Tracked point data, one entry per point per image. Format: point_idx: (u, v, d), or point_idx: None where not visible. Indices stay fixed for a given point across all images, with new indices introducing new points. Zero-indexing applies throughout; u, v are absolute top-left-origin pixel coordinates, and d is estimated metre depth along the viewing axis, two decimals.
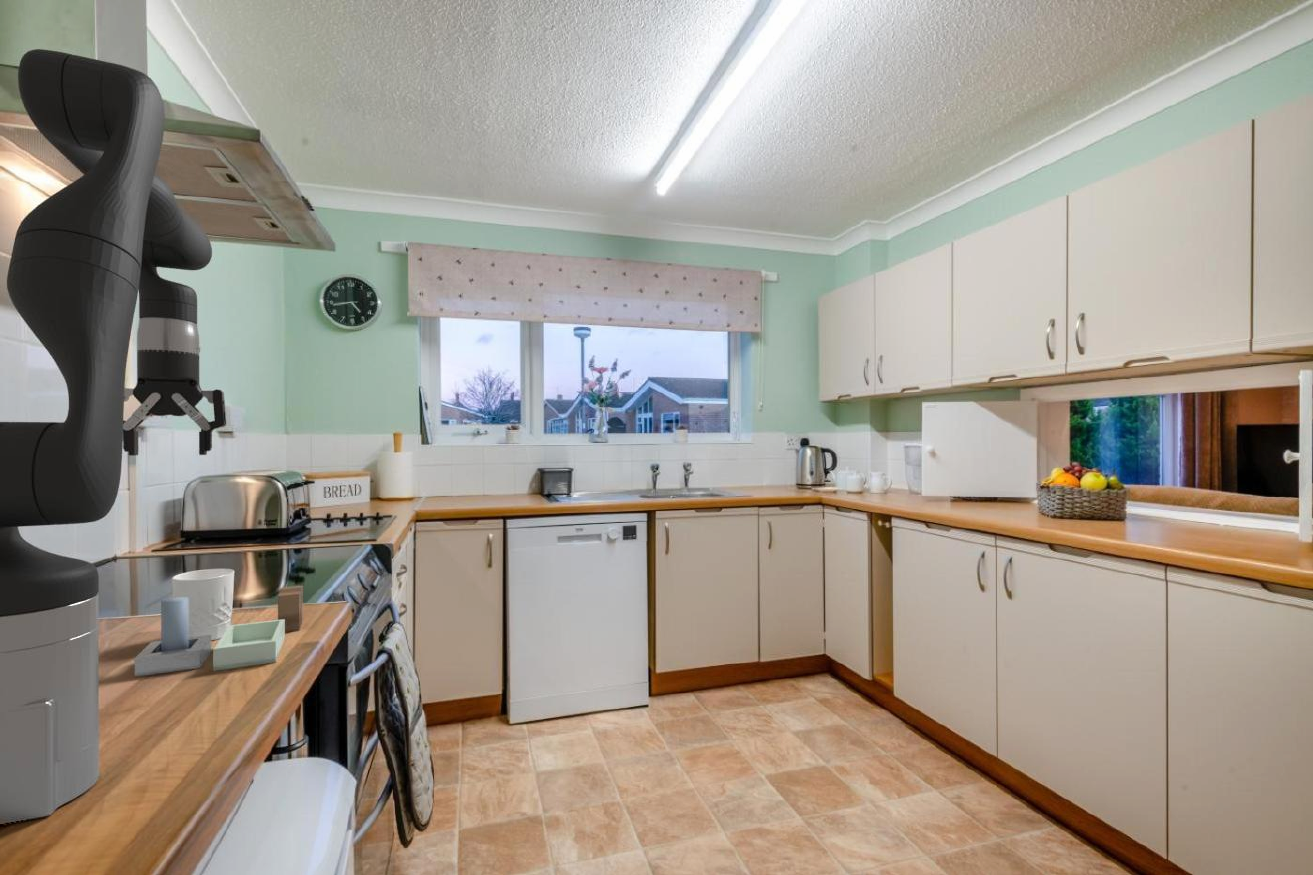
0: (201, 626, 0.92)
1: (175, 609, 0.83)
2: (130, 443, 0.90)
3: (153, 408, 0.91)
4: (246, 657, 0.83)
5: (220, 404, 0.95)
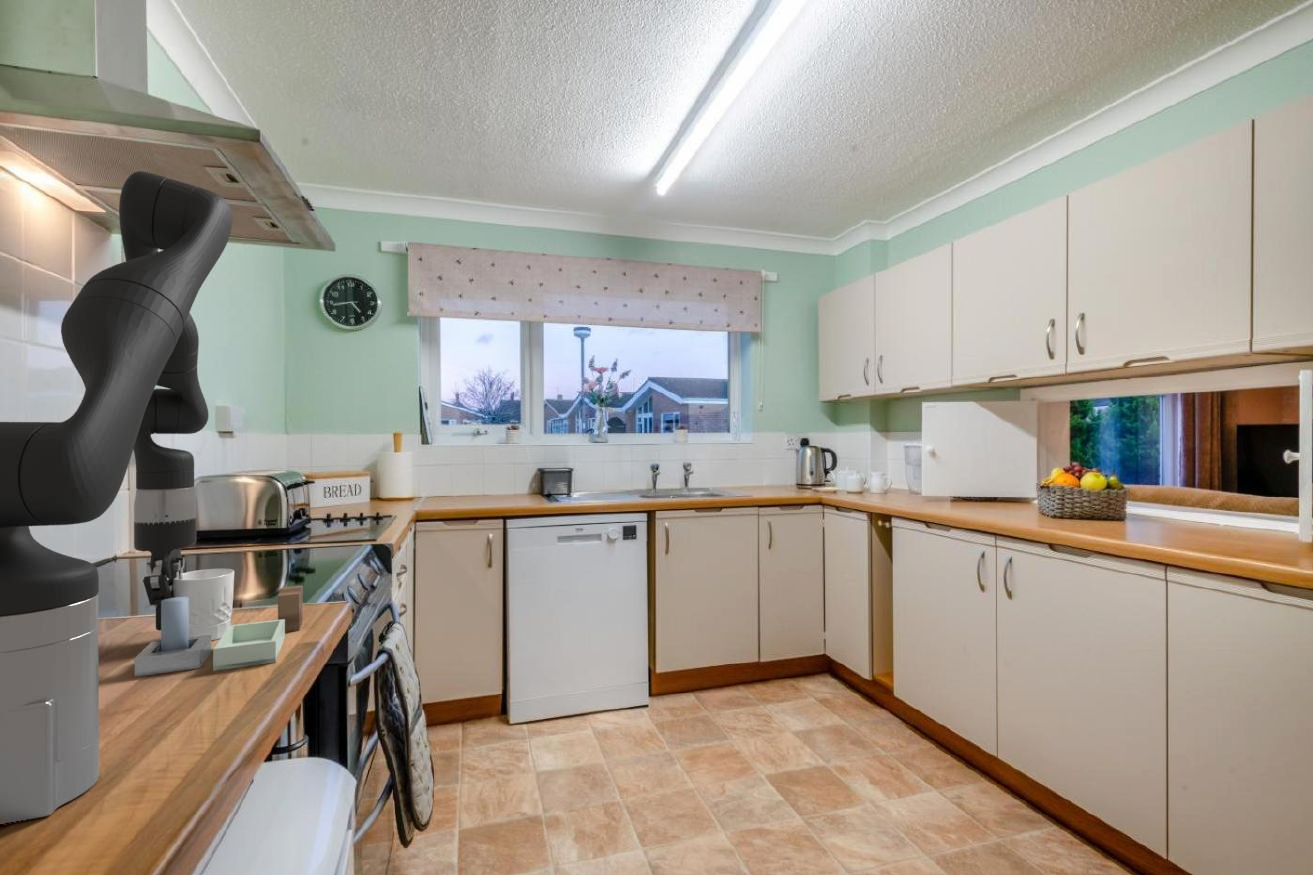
0: (201, 626, 0.92)
1: (175, 609, 0.83)
2: None
3: None
4: (246, 657, 0.83)
5: None
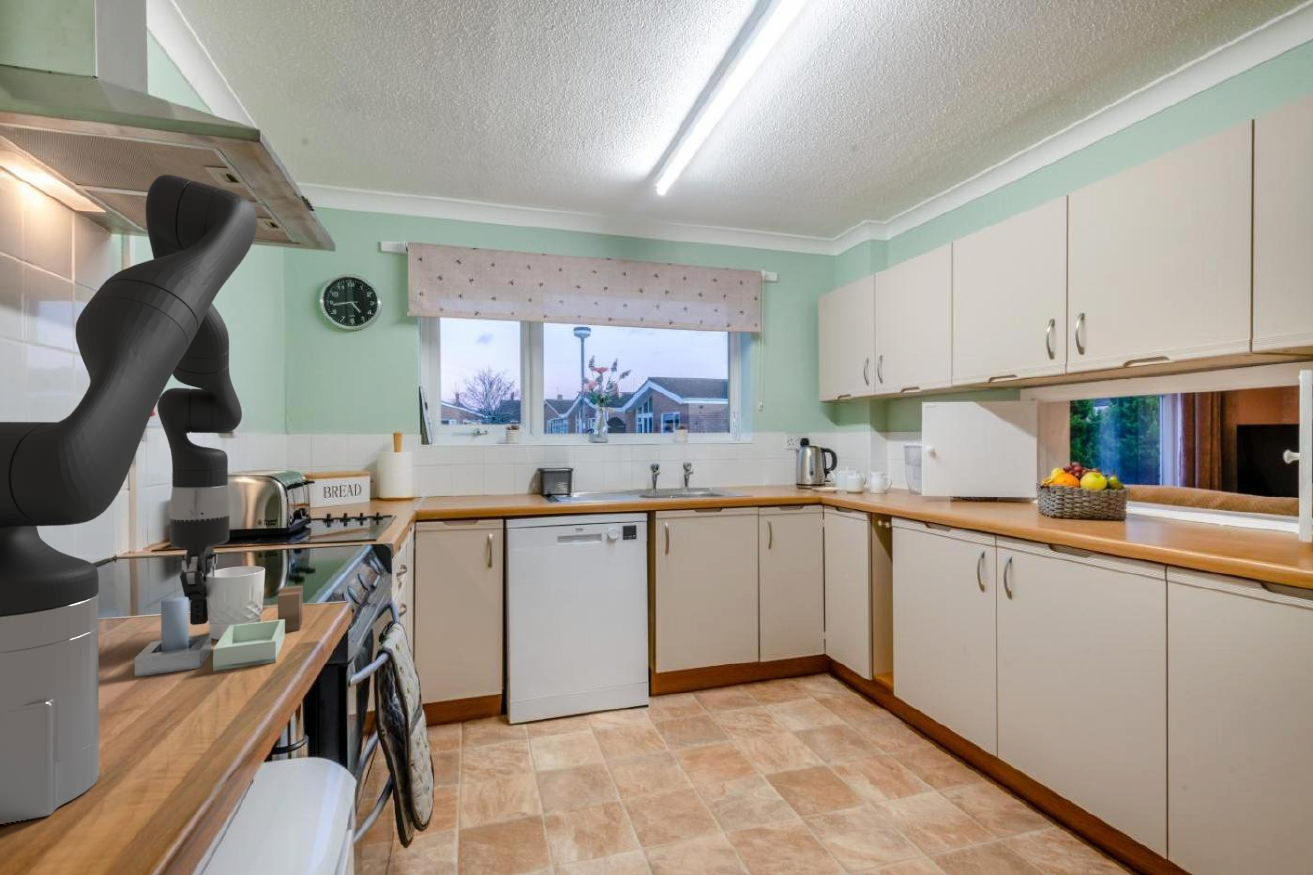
0: (228, 623, 0.94)
1: (175, 609, 0.83)
2: None
3: None
4: (246, 657, 0.83)
5: None
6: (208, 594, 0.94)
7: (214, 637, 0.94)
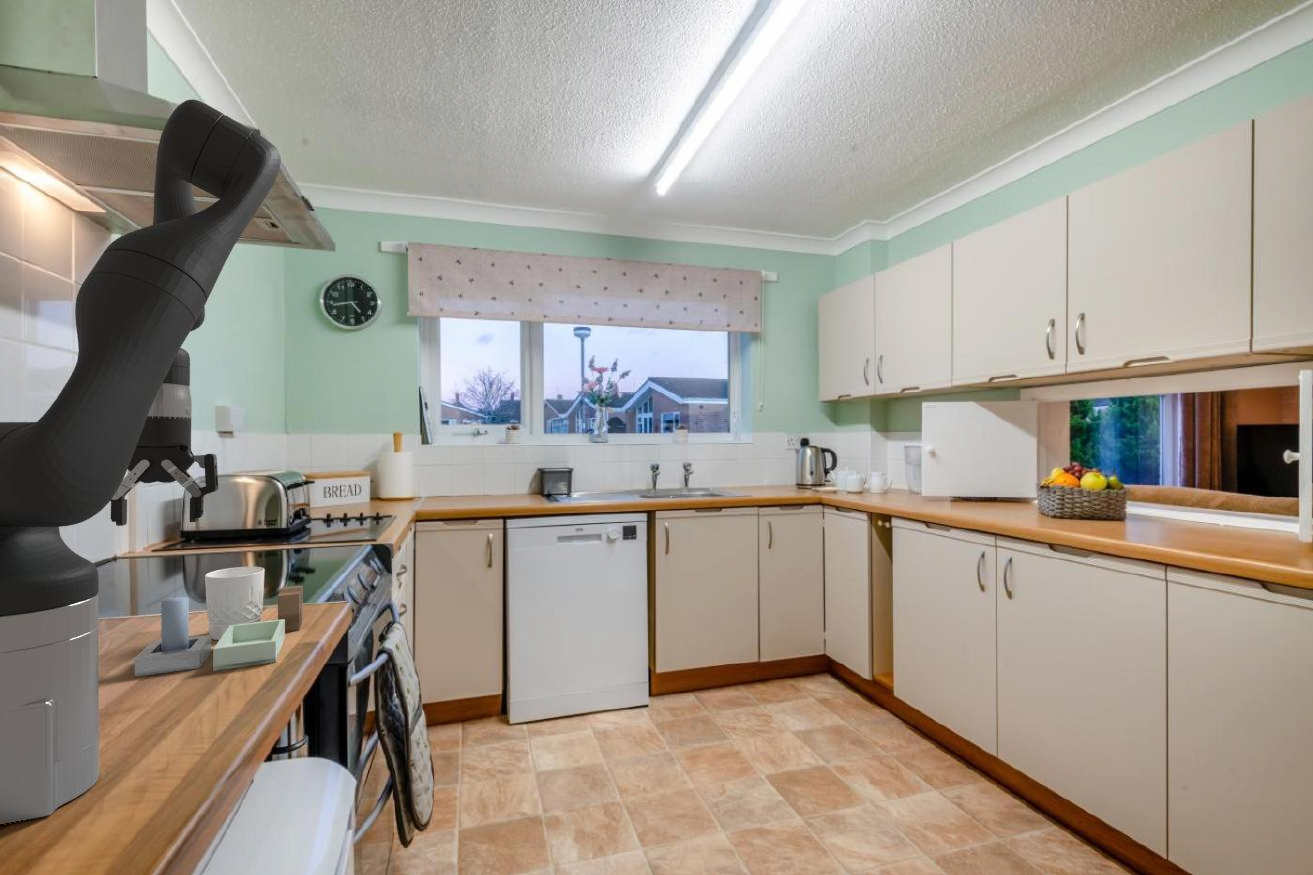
0: (228, 623, 0.94)
1: (175, 609, 0.83)
2: None
3: None
4: (246, 657, 0.83)
5: None
6: (208, 595, 0.94)
7: (214, 637, 0.94)
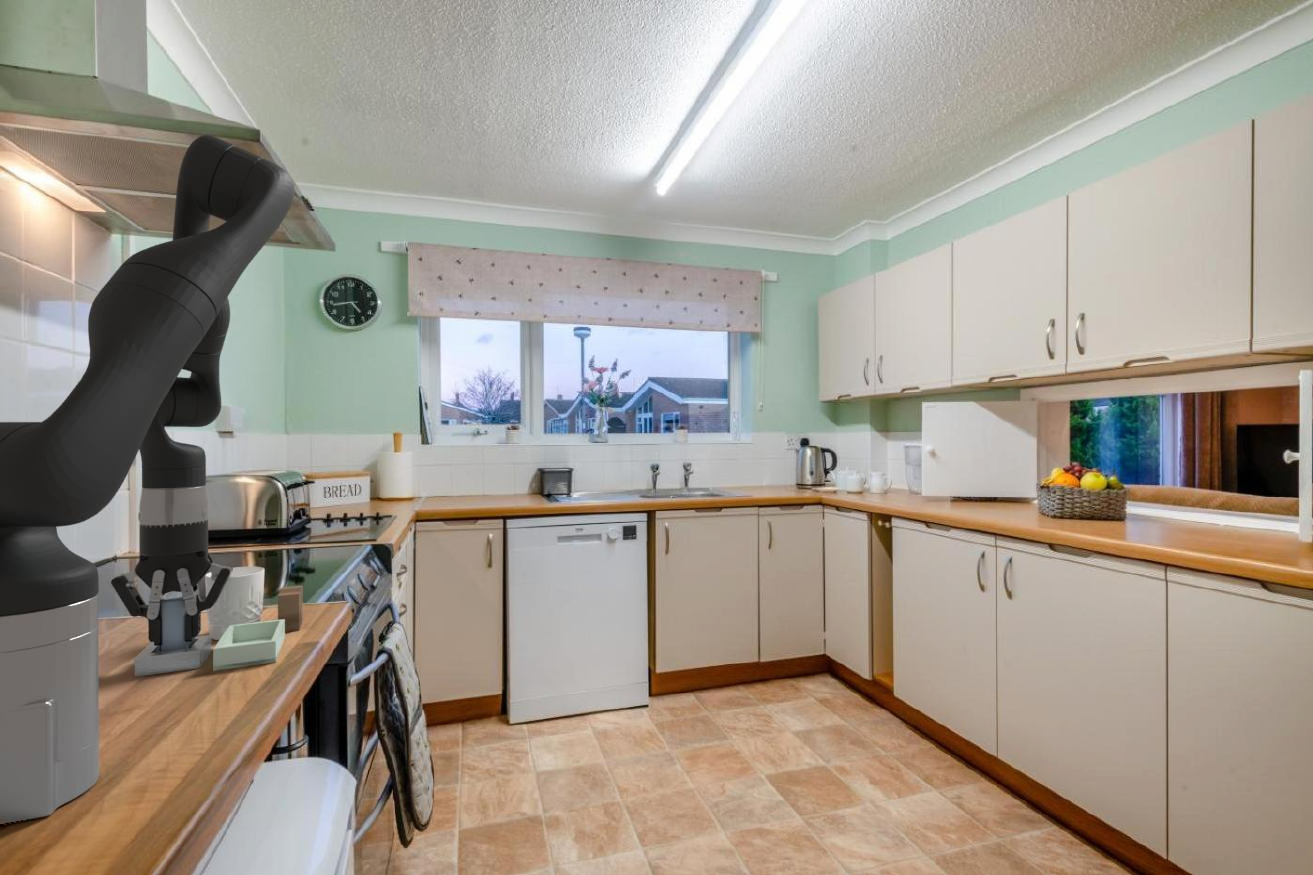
0: (228, 623, 0.94)
1: (175, 609, 0.83)
2: None
3: None
4: (246, 657, 0.83)
5: None
6: None
7: (214, 637, 0.94)
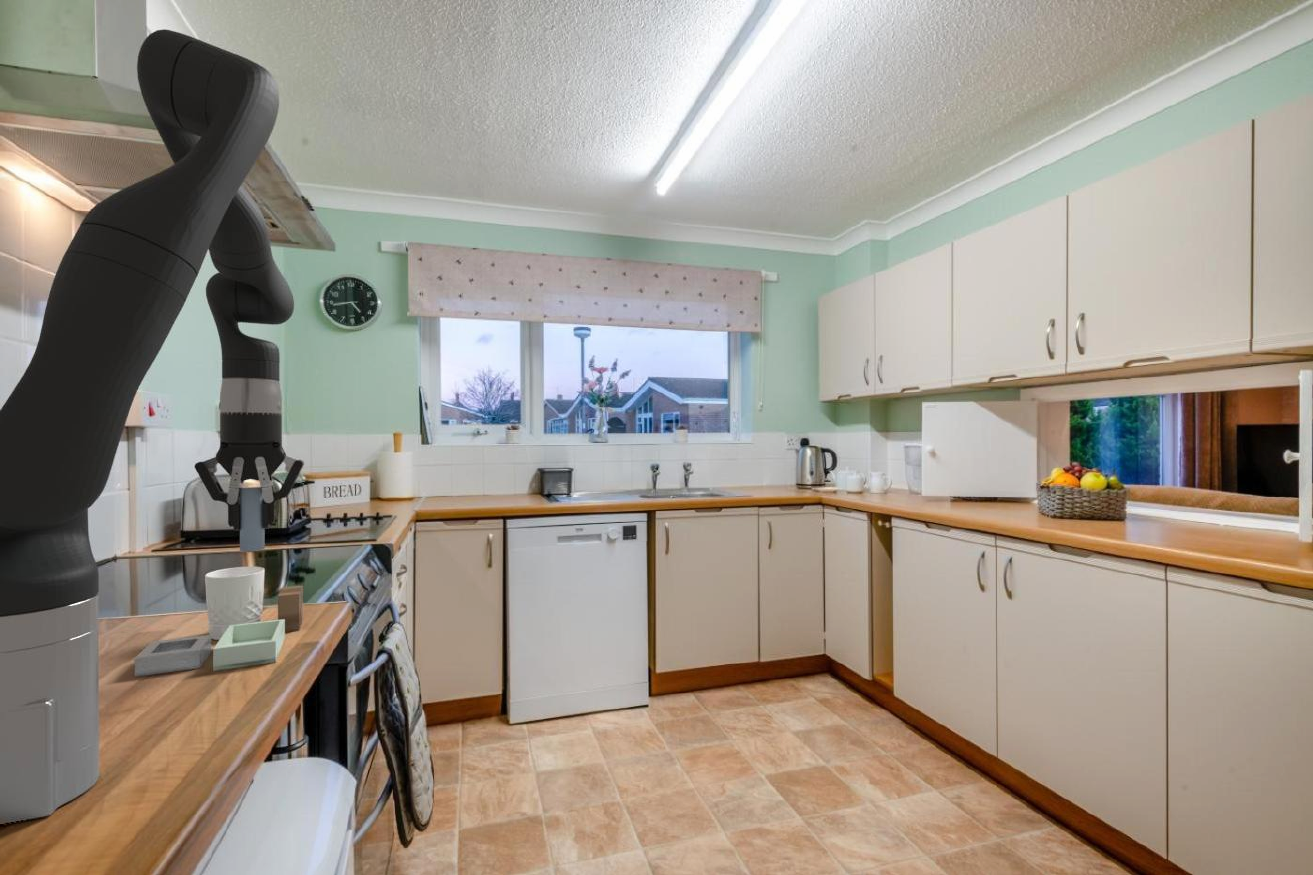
0: (228, 623, 0.94)
1: (253, 496, 0.87)
2: None
3: None
4: (246, 657, 0.83)
5: None
6: (208, 594, 0.94)
7: (214, 637, 0.94)
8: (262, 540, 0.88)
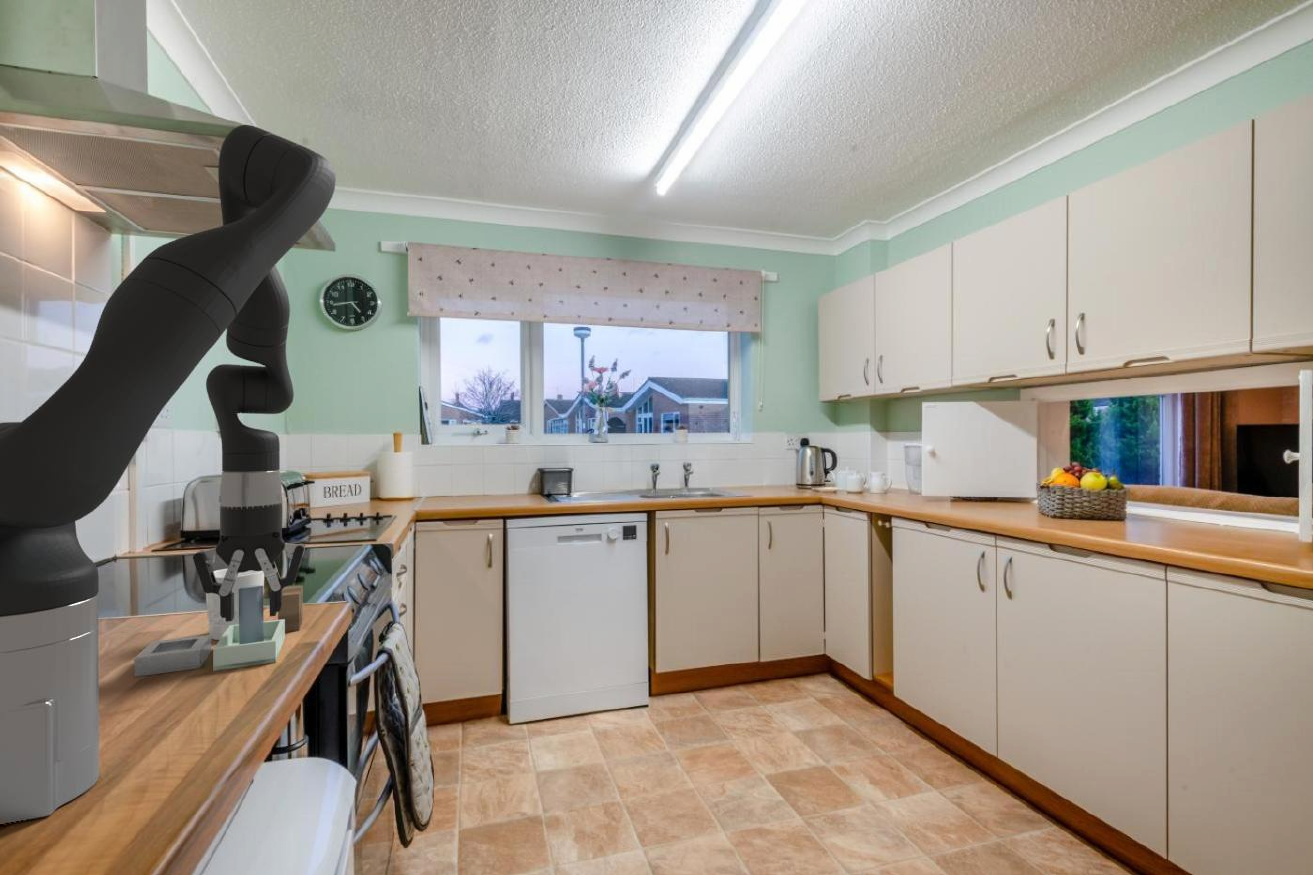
0: (228, 623, 0.94)
1: (252, 597, 0.87)
2: None
3: None
4: (246, 657, 0.83)
5: None
6: (208, 595, 0.94)
7: (214, 637, 0.94)
8: (261, 640, 0.88)
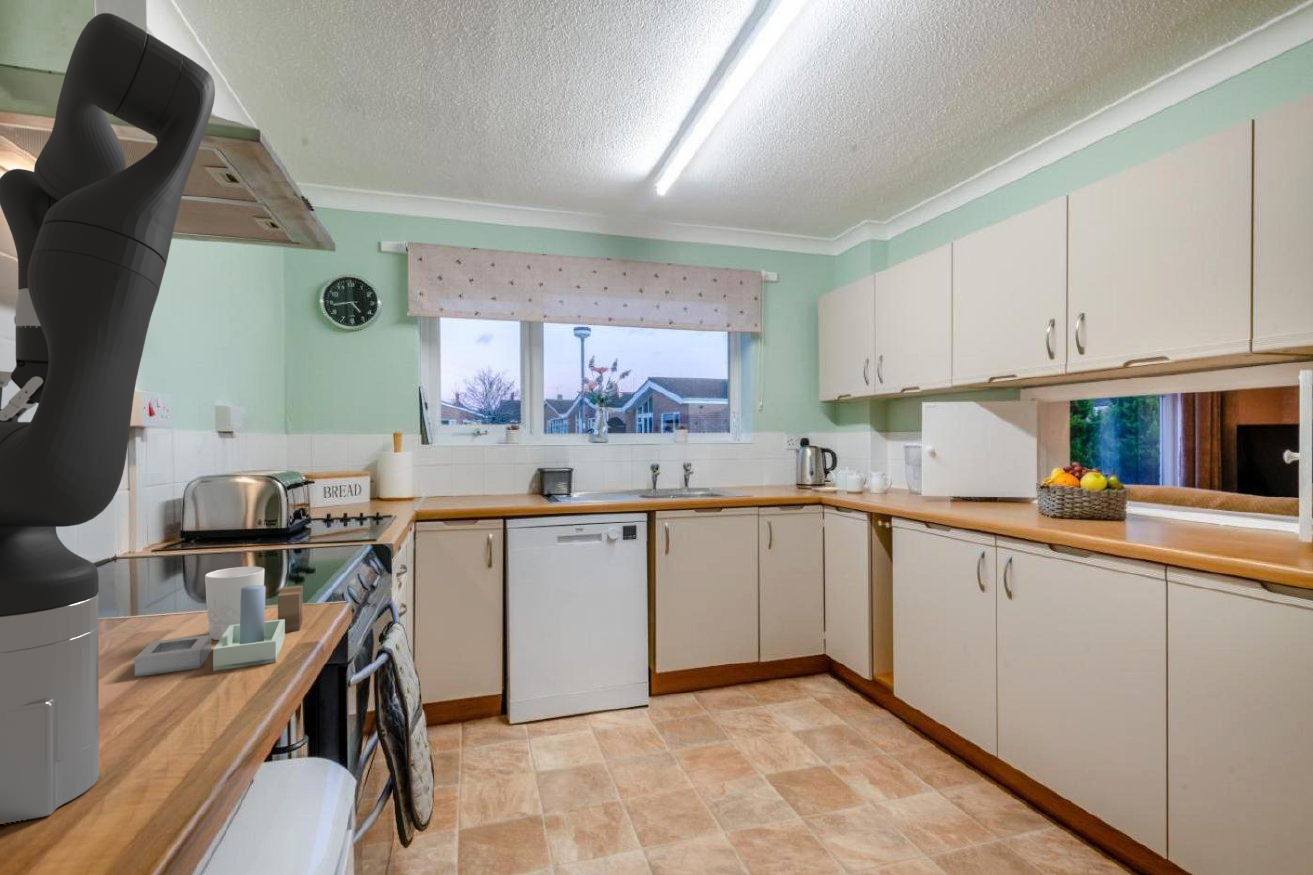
0: (228, 623, 0.94)
1: (254, 597, 0.87)
2: None
3: None
4: (246, 657, 0.83)
5: None
6: (208, 595, 0.94)
7: (214, 637, 0.94)
8: (261, 640, 0.88)
